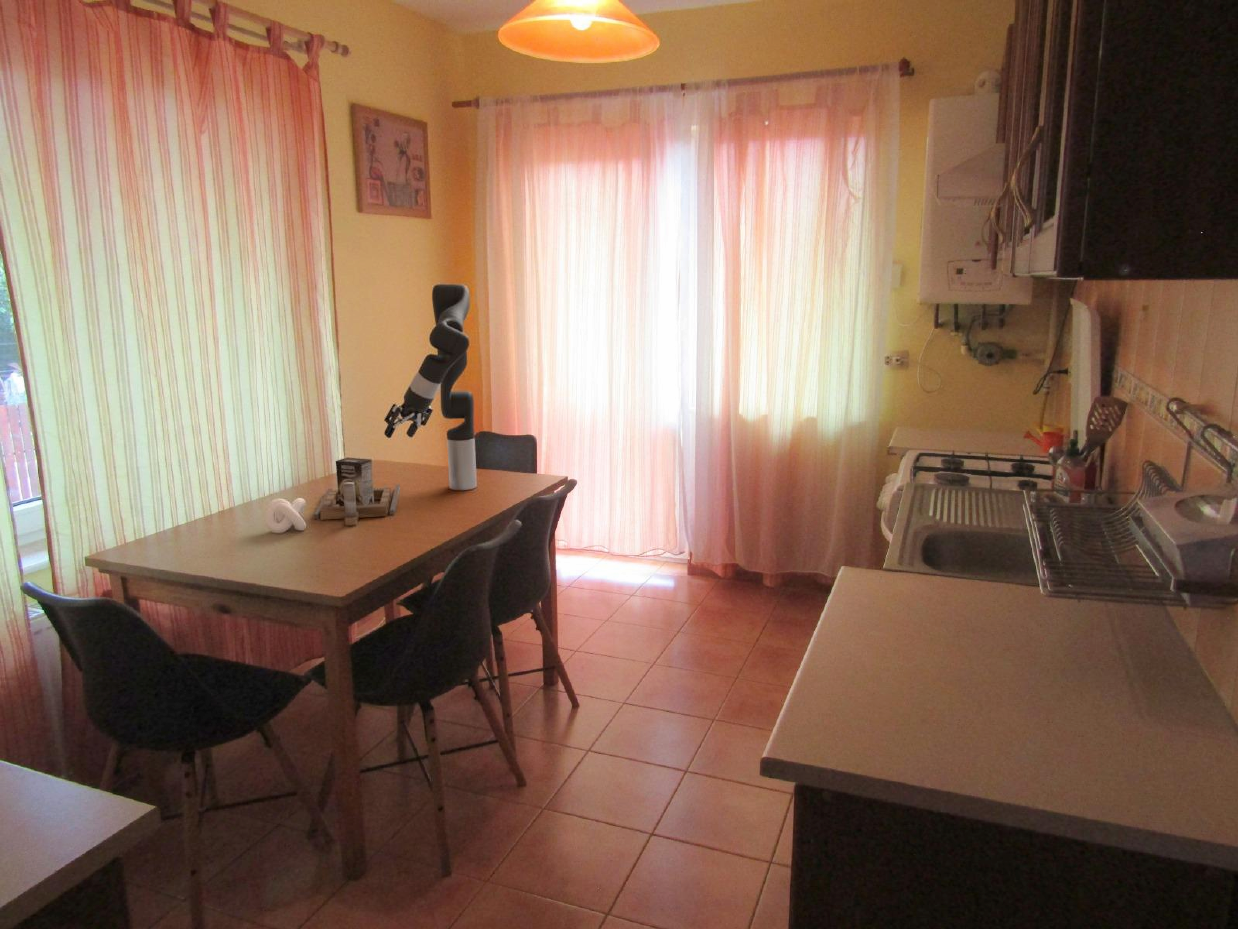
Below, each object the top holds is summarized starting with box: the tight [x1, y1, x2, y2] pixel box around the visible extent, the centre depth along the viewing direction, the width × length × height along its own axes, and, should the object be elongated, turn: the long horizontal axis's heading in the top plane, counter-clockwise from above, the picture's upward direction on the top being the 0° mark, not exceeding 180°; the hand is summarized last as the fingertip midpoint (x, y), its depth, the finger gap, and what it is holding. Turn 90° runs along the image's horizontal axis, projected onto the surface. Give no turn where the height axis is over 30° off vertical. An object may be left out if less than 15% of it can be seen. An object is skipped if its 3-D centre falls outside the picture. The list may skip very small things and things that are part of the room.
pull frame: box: [320, 482, 392, 526], centre depth 266 cm, size 32×19×12 cm, turn 11°
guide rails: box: [313, 484, 401, 520], centre depth 277 cm, size 32×23×2 cm
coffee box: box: [335, 457, 375, 506], centre depth 268 cm, size 9×6×16 cm
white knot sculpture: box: [263, 497, 307, 534], centre depth 248 cm, size 11×12×9 cm
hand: (398, 435), depth 246 cm, fingers open, 8 cm apart
